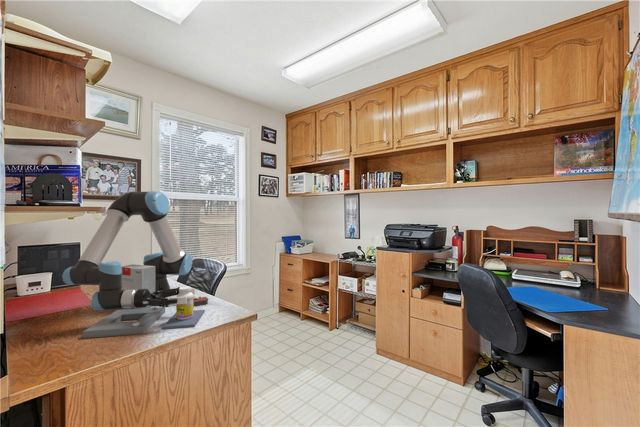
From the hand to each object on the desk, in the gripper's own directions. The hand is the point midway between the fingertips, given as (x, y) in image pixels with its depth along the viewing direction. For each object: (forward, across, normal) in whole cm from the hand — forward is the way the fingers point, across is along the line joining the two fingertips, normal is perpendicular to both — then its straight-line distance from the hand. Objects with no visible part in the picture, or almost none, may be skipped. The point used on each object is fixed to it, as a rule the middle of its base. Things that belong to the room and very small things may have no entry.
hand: (190, 295), depth 122 cm
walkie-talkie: (-7, -21, -11) cm, 25 cm away
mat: (-2, 0, -10) cm, 11 cm away
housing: (-24, 0, -10) cm, 26 cm away
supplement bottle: (-2, 0, -10) cm, 10 cm away
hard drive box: (-31, -25, -11) cm, 41 cm away
